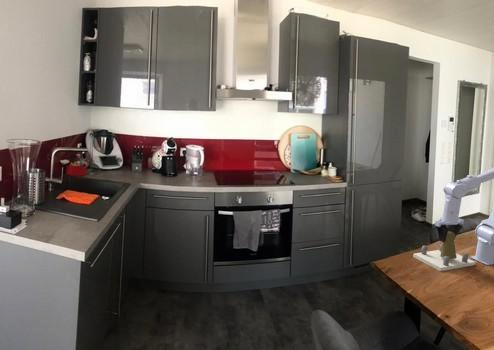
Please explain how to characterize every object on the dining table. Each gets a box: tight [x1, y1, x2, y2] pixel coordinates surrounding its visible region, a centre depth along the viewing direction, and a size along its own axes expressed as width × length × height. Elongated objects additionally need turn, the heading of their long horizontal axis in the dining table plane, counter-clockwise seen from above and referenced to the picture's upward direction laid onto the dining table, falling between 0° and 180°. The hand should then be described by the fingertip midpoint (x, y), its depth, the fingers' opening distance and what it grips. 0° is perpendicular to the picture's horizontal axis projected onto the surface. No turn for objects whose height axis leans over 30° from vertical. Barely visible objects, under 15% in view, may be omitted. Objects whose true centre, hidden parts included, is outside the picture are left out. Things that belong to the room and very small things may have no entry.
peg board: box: [412, 242, 476, 272], centre depth 144 cm, size 20×14×5 cm
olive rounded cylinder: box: [440, 231, 457, 259], centre depth 142 cm, size 6×6×11 cm
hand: (446, 240), depth 143 cm, fingers closed on olive rounded cylinder, 5 cm apart
